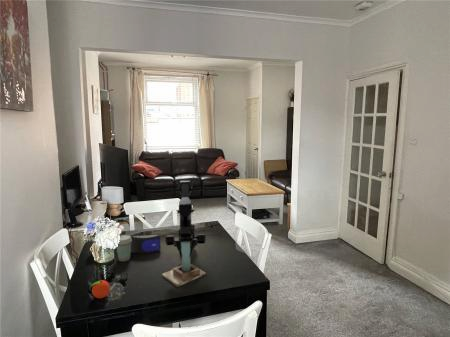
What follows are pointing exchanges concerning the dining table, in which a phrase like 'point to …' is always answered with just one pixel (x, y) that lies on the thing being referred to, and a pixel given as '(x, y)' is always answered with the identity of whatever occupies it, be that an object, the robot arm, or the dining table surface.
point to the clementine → (100, 289)
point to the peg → (185, 255)
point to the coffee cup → (124, 248)
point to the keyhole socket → (183, 275)
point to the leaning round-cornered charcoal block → (145, 244)
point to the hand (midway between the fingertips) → (185, 257)
